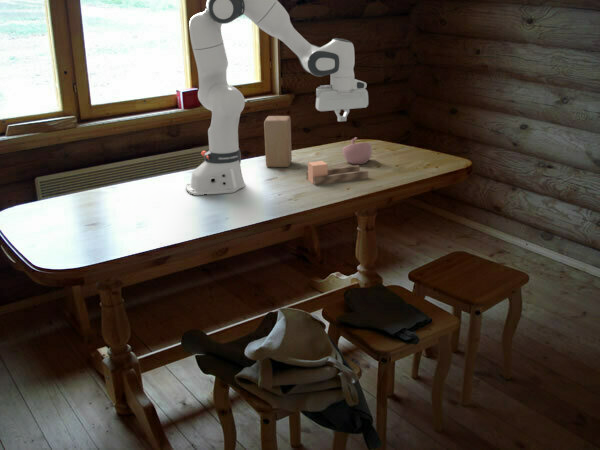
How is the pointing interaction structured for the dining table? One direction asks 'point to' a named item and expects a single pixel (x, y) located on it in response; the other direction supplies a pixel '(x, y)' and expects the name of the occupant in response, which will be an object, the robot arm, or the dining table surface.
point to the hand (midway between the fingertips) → (341, 121)
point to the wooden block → (278, 141)
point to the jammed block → (316, 169)
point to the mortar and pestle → (357, 152)
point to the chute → (340, 175)
